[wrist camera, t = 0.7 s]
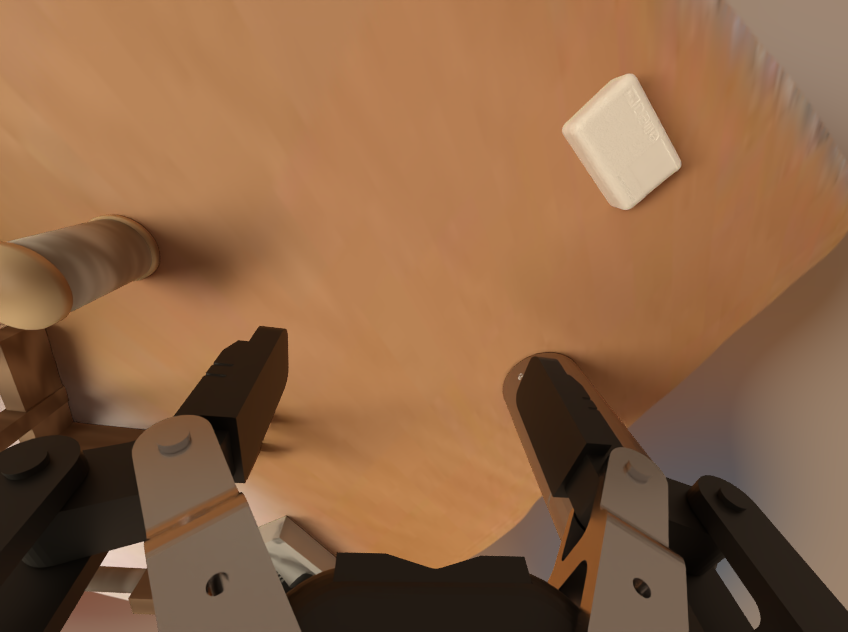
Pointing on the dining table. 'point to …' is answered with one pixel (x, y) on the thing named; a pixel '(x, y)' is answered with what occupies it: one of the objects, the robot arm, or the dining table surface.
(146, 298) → the dining table surface
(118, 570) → the wooden frame rack
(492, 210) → the dining table surface
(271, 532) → the plug tray
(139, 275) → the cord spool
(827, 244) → the dining table surface
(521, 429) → the robot arm
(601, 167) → the soap
